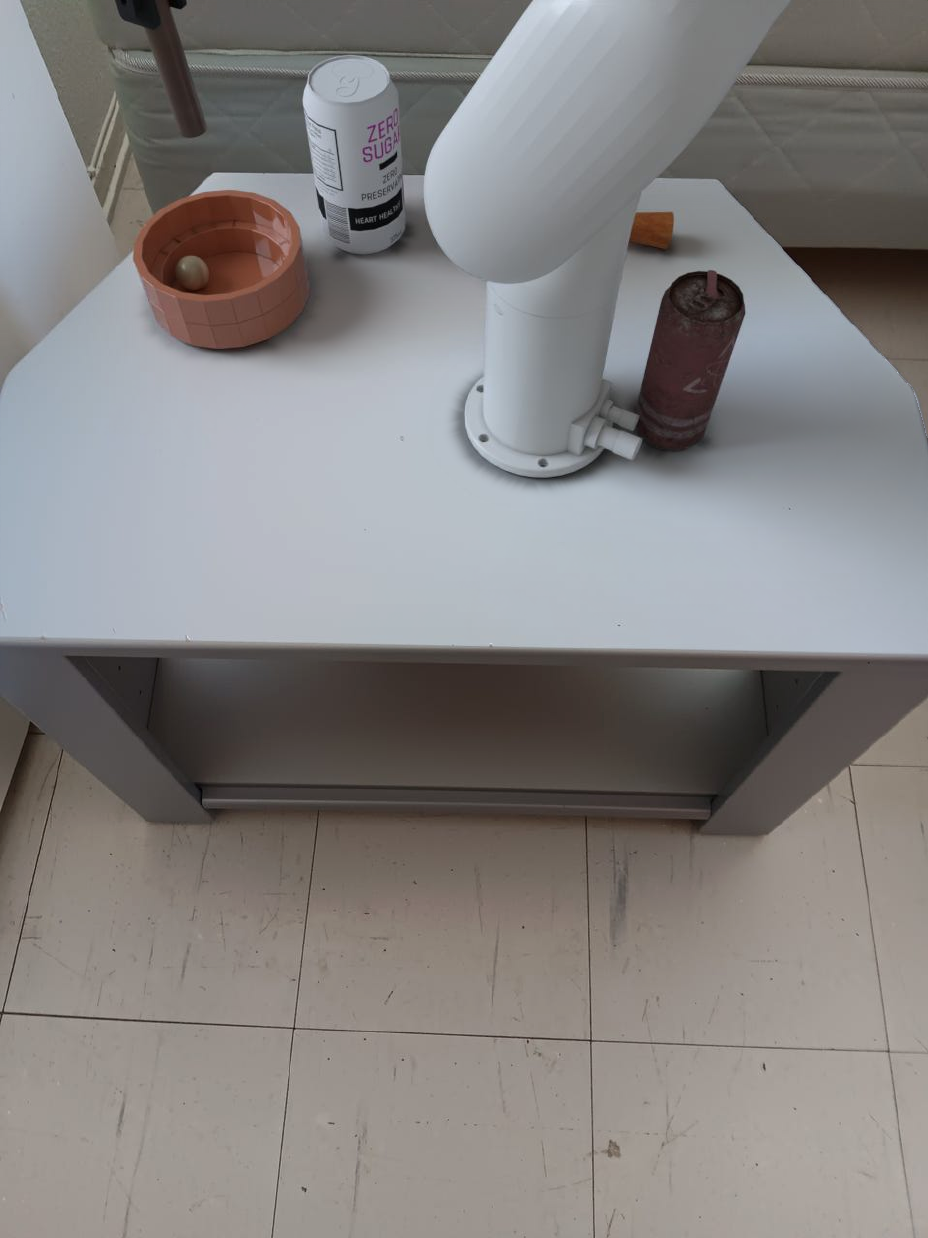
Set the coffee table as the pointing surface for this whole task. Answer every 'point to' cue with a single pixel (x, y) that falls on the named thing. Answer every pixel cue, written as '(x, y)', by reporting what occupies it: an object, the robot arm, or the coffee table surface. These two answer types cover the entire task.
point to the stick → (176, 74)
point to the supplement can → (356, 152)
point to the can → (688, 358)
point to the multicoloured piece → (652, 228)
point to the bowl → (224, 268)
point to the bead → (192, 272)
